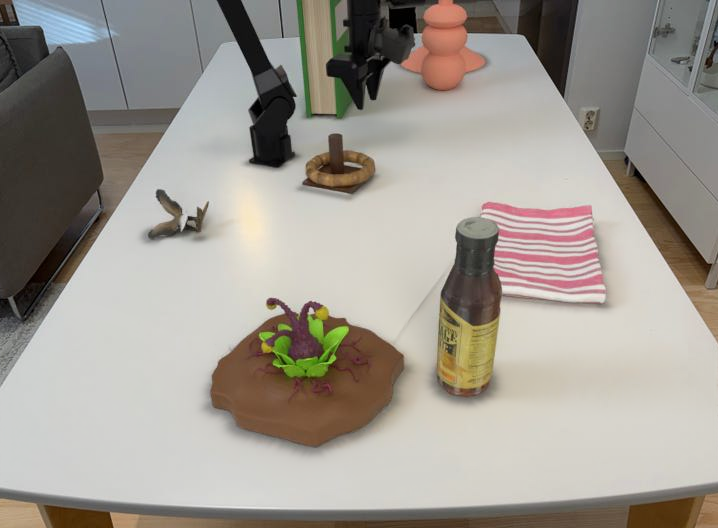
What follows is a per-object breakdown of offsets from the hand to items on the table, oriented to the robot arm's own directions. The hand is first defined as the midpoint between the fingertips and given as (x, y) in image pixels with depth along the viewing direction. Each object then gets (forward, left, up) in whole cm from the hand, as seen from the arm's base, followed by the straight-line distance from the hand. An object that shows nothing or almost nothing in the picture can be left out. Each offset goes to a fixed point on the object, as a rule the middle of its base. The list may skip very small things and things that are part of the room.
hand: (367, 104), depth 126 cm
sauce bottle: (+40, -57, -8) cm, 70 cm away
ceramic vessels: (-4, +50, -8) cm, 51 cm away
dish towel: (+40, -27, -8) cm, 49 cm away
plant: (+24, -64, -8) cm, 69 cm away
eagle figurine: (-12, -42, -8) cm, 44 cm away
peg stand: (+2, -16, -8) cm, 18 cm away
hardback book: (-18, +19, -8) cm, 27 cm away
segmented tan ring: (+2, -15, -6) cm, 16 cm away
